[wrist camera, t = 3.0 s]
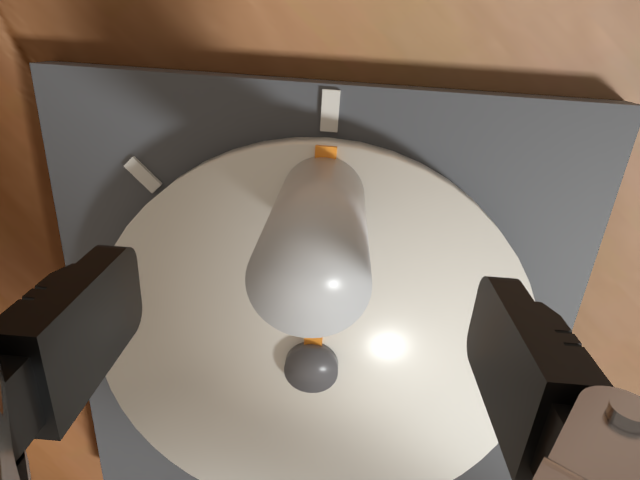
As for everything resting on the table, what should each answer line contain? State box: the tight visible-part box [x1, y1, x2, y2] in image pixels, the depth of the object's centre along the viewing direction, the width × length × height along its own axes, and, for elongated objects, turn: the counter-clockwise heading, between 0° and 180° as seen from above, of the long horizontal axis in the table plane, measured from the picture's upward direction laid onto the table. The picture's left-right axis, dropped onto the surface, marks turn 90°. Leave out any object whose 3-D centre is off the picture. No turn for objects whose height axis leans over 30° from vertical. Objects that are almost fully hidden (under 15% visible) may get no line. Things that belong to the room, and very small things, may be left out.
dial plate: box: [30, 61, 640, 480], centre depth 24 cm, size 24×24×2 cm
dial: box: [106, 137, 535, 480], centre depth 19 cm, size 20×20×8 cm
